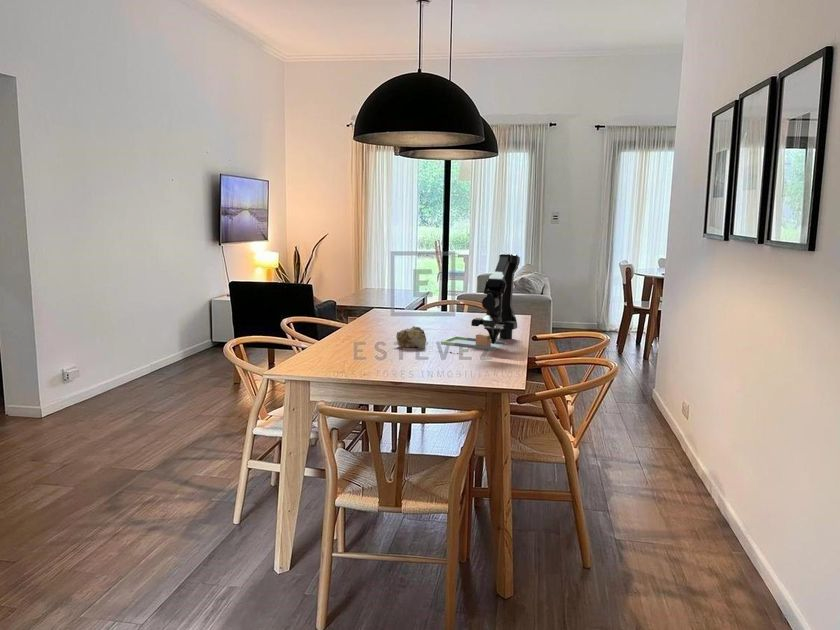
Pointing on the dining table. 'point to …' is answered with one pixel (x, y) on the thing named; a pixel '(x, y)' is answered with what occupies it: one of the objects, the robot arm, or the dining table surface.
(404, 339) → the rock
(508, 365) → the dining table surface
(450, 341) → the box
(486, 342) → the block
